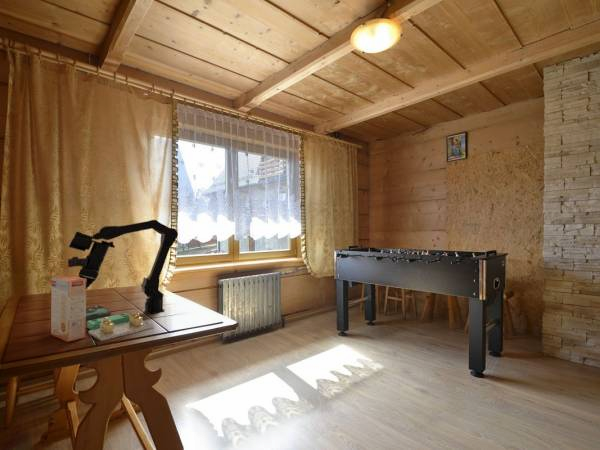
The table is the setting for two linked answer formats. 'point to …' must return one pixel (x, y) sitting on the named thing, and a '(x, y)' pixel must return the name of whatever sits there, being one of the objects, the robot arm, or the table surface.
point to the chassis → (120, 327)
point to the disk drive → (96, 312)
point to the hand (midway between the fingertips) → (80, 291)
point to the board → (114, 319)
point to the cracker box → (68, 308)
